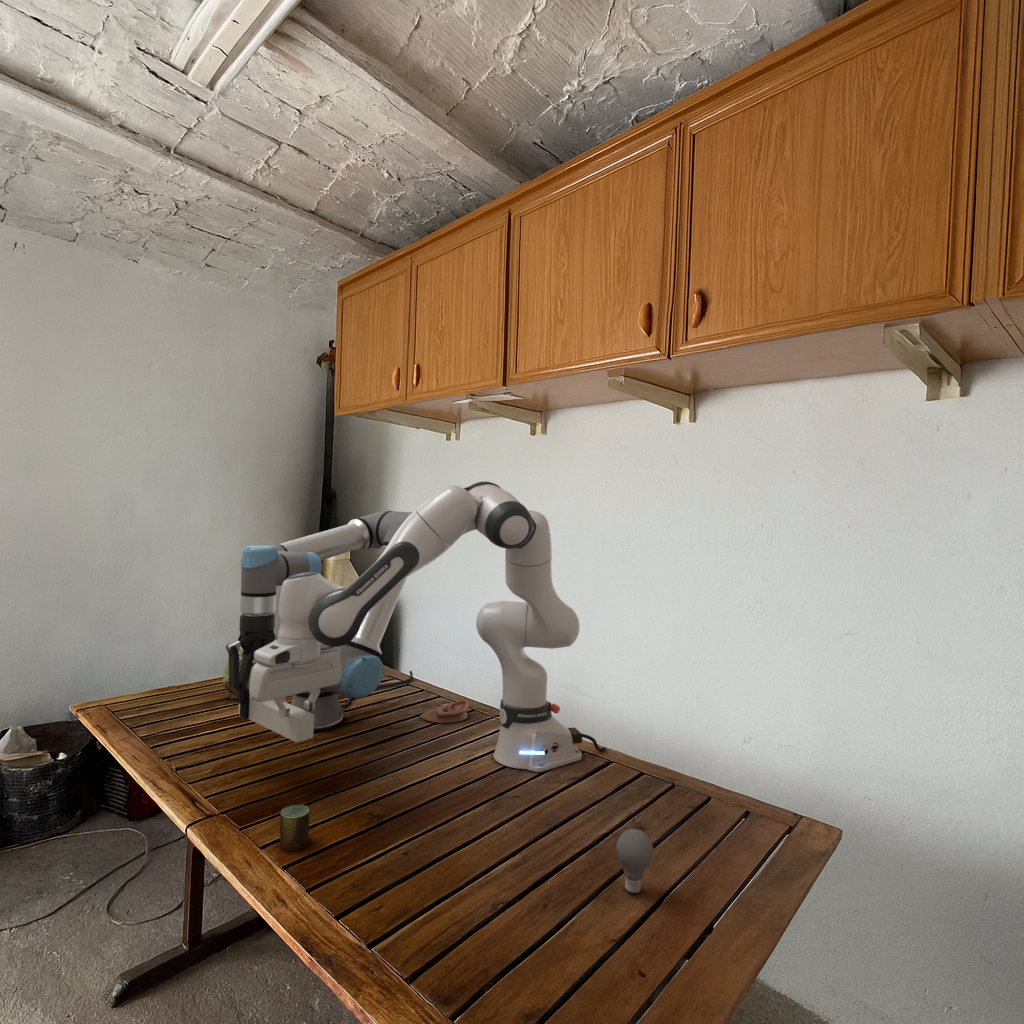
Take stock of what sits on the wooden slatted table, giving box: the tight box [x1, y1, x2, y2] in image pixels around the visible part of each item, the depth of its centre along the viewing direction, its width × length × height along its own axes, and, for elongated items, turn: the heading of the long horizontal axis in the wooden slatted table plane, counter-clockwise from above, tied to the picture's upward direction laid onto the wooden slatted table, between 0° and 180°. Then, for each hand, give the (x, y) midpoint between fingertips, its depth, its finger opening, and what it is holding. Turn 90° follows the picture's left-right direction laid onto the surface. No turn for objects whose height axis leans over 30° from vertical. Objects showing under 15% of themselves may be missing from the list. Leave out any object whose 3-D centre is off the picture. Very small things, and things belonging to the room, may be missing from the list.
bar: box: [237, 696, 314, 743], centre depth 140 cm, size 4×24×5 cm, turn 51°
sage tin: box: [278, 804, 310, 852], centre depth 116 cm, size 5×5×6 cm
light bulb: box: [615, 828, 654, 894], centre depth 106 cm, size 6×6×10 cm
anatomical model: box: [419, 699, 469, 724], centre depth 185 cm, size 13×4×12 cm
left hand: (254, 714), depth 146 cm, fingers closed on bar, 4 cm apart
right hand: (296, 713), depth 135 cm, fingers open, 5 cm apart
